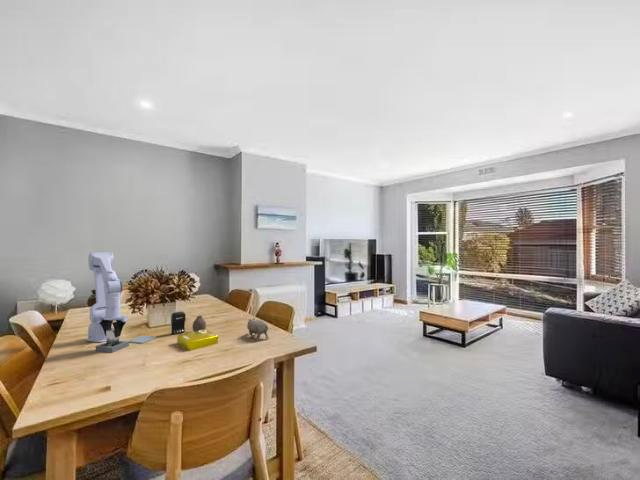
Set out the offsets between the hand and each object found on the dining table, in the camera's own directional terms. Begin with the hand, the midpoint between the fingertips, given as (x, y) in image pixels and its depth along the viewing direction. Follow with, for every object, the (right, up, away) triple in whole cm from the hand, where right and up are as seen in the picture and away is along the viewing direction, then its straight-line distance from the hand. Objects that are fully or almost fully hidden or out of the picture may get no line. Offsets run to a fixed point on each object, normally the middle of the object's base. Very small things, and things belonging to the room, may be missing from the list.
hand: (112, 336), depth 141 cm
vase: (+30, -6, +25) cm, 40 cm away
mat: (+7, -6, +12) cm, 15 cm away
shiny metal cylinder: (0, -3, 0) cm, 3 cm away
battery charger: (+20, -6, +23) cm, 31 cm away
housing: (0, -6, 0) cm, 6 cm away
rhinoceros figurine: (+63, -6, +18) cm, 66 cm away
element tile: (+37, -6, +7) cm, 38 cm away
